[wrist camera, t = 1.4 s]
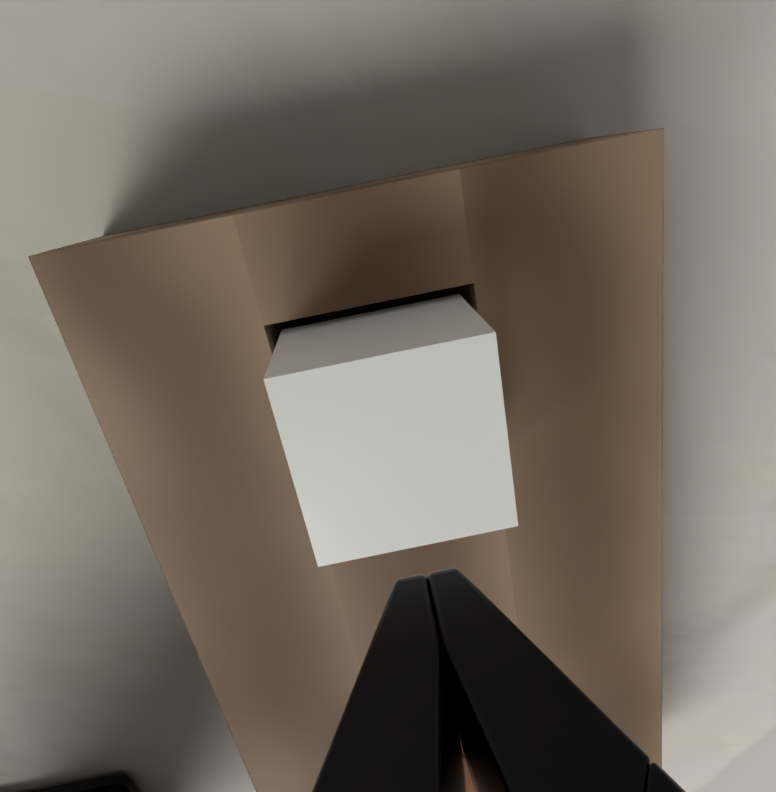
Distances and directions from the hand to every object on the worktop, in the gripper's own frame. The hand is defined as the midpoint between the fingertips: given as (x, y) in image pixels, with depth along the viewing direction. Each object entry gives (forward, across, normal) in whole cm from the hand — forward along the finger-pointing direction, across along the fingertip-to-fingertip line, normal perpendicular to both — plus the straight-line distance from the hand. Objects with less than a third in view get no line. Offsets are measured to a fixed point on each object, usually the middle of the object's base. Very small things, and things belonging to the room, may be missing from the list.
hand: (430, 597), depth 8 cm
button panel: (+11, 0, +8) cm, 14 cm away
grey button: (+7, 0, 0) cm, 7 cm away
